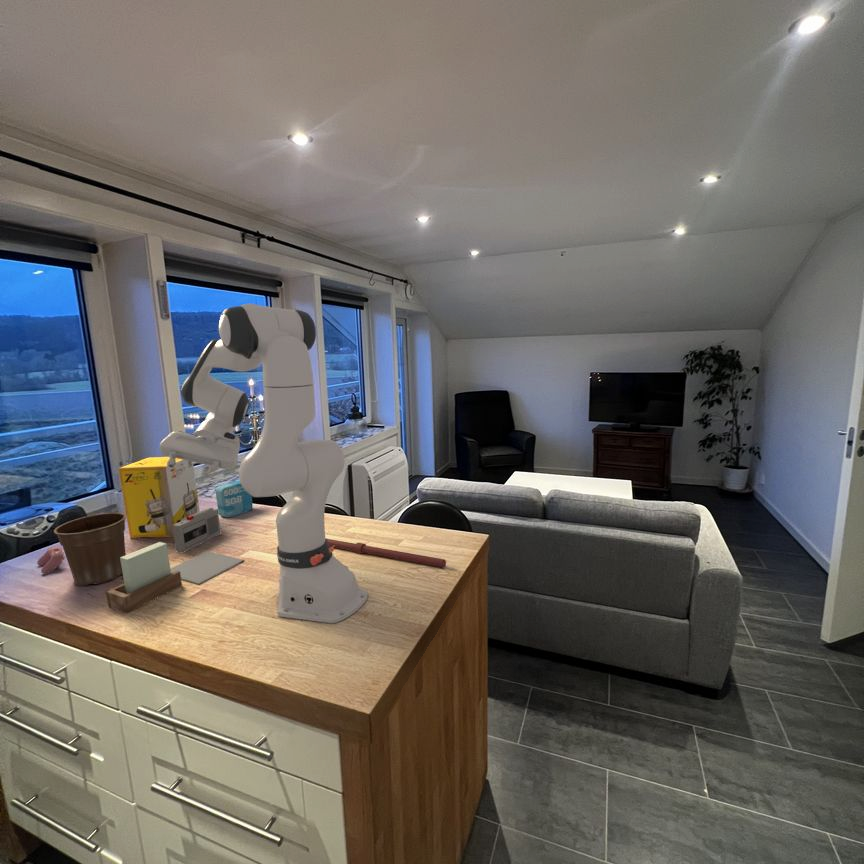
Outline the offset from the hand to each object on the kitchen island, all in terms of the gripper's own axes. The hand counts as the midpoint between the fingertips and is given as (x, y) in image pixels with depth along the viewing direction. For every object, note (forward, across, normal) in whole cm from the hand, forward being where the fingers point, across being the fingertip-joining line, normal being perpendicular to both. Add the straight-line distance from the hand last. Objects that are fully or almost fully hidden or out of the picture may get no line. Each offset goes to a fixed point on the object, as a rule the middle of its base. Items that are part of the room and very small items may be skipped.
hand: (188, 469), depth 122 cm
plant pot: (+14, -19, +36) cm, 43 cm away
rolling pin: (+5, +56, +14) cm, 58 cm away
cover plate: (+23, 0, +24) cm, 33 cm away
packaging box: (-17, -16, +52) cm, 57 cm away
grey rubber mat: (+10, +8, +28) cm, 31 cm away
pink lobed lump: (+9, -37, +45) cm, 59 cm away
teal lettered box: (-31, +3, +52) cm, 60 cm away
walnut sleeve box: (+23, 0, +24) cm, 33 cm away
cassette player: (-6, 0, +40) cm, 40 cm away
